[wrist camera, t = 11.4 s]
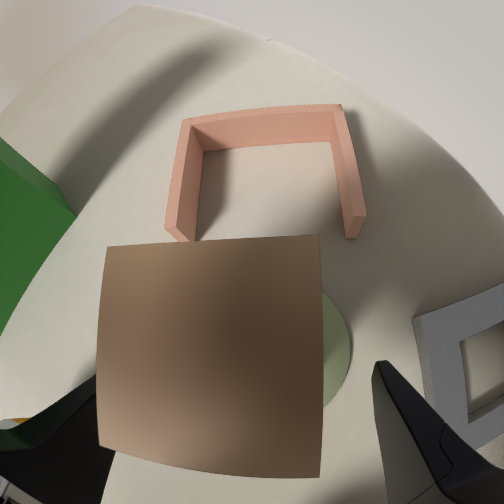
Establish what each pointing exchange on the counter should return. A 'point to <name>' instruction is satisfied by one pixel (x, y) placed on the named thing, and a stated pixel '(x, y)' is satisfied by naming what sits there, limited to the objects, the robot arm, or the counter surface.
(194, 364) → the walnut block
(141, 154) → the counter surface
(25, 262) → the hardback book
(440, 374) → the hole plate
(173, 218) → the terracotta cubby
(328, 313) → the olive mat
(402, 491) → the robot arm
